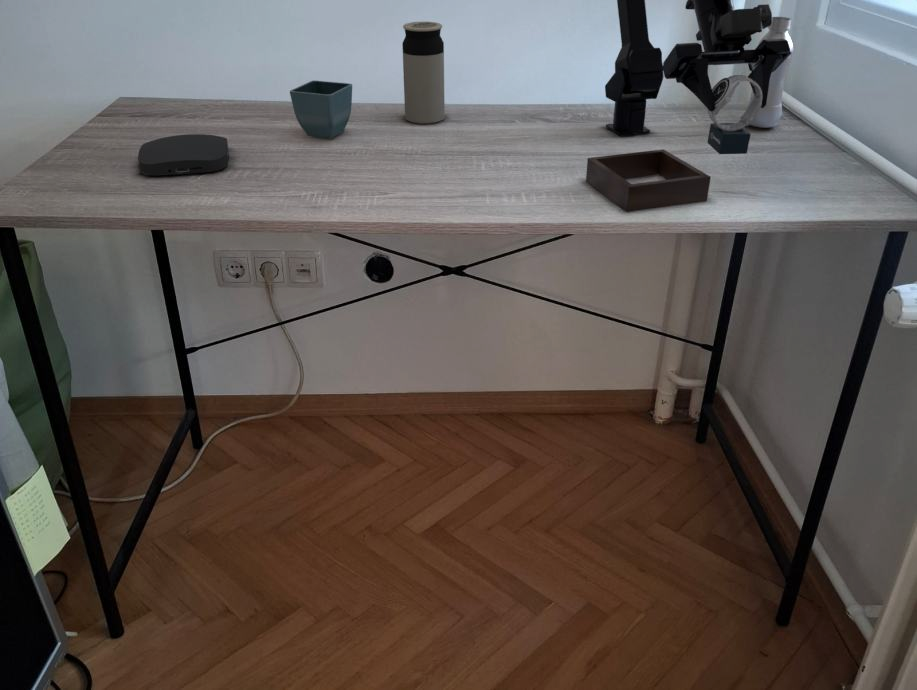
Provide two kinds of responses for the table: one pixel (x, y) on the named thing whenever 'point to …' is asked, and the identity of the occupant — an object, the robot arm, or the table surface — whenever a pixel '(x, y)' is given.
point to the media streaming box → (183, 154)
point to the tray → (675, 190)
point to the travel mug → (423, 72)
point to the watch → (732, 134)
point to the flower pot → (322, 107)
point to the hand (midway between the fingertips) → (738, 108)
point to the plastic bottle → (774, 78)
